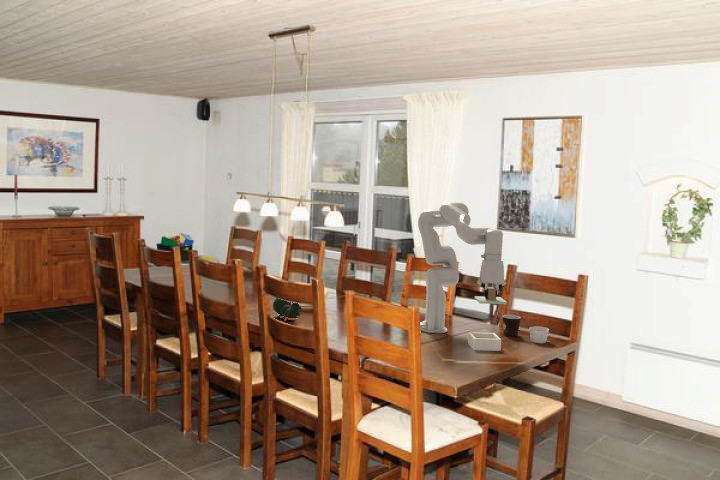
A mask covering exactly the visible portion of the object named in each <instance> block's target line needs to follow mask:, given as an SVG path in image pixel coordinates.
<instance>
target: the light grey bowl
mask: <svg viewBox="0 0 720 480" xmlns="http://www.w3.org/2000/svg"><path fill="white" fill-rule="evenodd" d="M549 332H550V329H549V328H548V327H544V326H537V325H536V326H530V327H529V336H530V337H529V338H530V341H531V342H532V343H535V344H546V342H547V339H548V335H549Z"/></svg>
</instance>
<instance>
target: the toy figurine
mask: <svg viewBox="0 0 720 480" xmlns="http://www.w3.org/2000/svg"><path fill="white" fill-rule="evenodd" d="M272 308H273V309H272V310H273V311H274V312H275V313H276V314H277V313H278V314H280V315H279V316H284V317H288V318H299V317H301V312H300V310H302V306H300V304H298V303H293V302H292V301H290V302H287V301H284V300H281V299H278V297H275V299H274V301H273V304H272Z"/></svg>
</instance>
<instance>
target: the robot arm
mask: <svg viewBox="0 0 720 480" xmlns="http://www.w3.org/2000/svg"><path fill="white" fill-rule="evenodd" d="M471 221H472V219H471V216H470V215H469V207H468V206H467V205H466V204H465V203H463V202H444V203H443V204H442V205H441V206H440V207H439V209H427V210H424V211H422V212H421V213H420V215H419V216H418V221H417V227H418V231H419V233H420V236H421V241H422V246H423V252H424V259H425V261H426V263H427V264H428V265H430V266H436V267H432V268H429V269H428V270H426V273H425V274H424V275H425V276H424V277H425V280H424V281H425V285H426V300H425V317H424V318H425V319H424V320H423V321H421V322H420V321H419V322H420V327H421V331H423V332H424V333H427V334H428V333H429V334H445V333H447V332H448V328H447V327H445V323H446V321H445V320H446V302H447V300H446V299H447V295H446V292H445V290H444V287H451V286H452V287H453V286H456V285H457V284H458V282H459V280H460V274H459V266H458V259H457V254H456V251H455V249H454V248H453V247H452V246H450V245H442V244H441V239H440V236H439V234H438V232H437V231H436V230H435V229H434V228H441V227H442V228H444V227H445V228H448V227H451V226H452V227H454V228H455V231H456V232H455V233H456V234H457V237H458V238H460V240H462V241H463V242H465V243H467V244H468V245H472V246H476V245H484V253H483V254H480V258H482V261H481V265H480V270H479V271H480V272H479V277H478V279H477V280H476V284H477V285H479V286H481V287H482V288H483V297H485V298H486V299H488V287H489V284H494V288H495V289H496V297H498V294H499V293H498V292H499V289H501V288H502V287H504V286H505V285H507V282H506V280H505V266H504V261H503V260H502V258H503V257H502V255H503V254H502V253H503V241H504V240H503V236H504V233H503V231H502V230H500V229H492V228H489V227H471V226H470V225H471ZM438 265H440V266H438ZM441 265H442V266H441ZM496 297H495V299H496Z"/></svg>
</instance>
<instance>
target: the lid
mask: <svg viewBox="0 0 720 480" xmlns="http://www.w3.org/2000/svg"><path fill="white" fill-rule="evenodd" d="M495 297H496V289H495V287H494V286H488V299H486V298H485V297H484V296H478V295H477V296H476V295H475V296H474V300H475V301H477V303H479V304H483V305H484V304H486V305H487V304H489V305H508V304H507V303H508V302H507V301H506V300H505V299H503V298H502V297H500V296H497V297H496V299H495Z"/></svg>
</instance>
